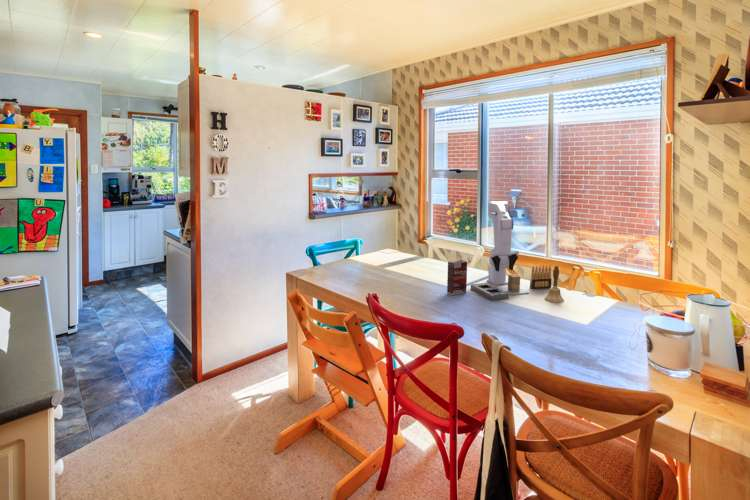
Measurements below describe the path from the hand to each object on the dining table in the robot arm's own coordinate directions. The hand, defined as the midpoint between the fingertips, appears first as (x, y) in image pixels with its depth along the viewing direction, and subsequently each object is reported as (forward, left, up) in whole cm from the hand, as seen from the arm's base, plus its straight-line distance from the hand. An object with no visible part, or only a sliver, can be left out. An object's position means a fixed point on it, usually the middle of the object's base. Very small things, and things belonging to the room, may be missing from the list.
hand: (504, 270), depth 206 cm
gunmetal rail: (+2, -9, -10) cm, 14 cm away
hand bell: (+20, +14, -11) cm, 27 cm away
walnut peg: (+3, +4, -10) cm, 11 cm away
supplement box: (-4, -23, -11) cm, 26 cm away
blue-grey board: (+3, +4, -10) cm, 11 cm away
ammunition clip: (+3, +19, -11) cm, 22 cm away
